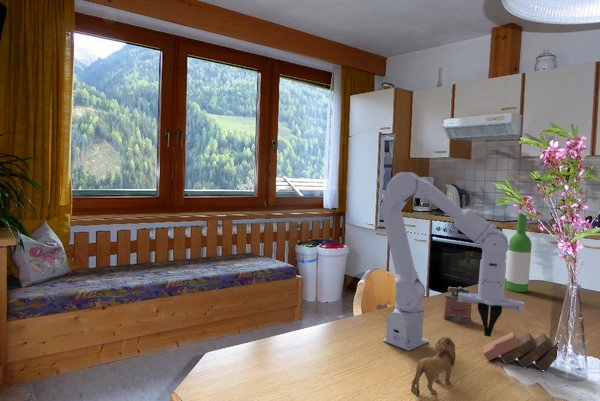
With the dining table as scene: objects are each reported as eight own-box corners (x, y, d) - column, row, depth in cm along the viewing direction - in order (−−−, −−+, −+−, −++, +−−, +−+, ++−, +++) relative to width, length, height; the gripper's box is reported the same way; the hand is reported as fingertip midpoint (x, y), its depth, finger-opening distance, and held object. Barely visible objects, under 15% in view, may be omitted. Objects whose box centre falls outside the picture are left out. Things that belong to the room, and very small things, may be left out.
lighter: (469, 318, 134) (471, 286, 134) (472, 322, 131) (474, 289, 130) (442, 316, 135) (444, 285, 134) (444, 320, 132) (447, 287, 131)
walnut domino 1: (500, 357, 103) (530, 339, 101) (500, 349, 108) (528, 332, 105) (506, 364, 103) (536, 347, 100) (505, 356, 107) (534, 339, 105)
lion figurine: (435, 370, 98) (437, 331, 98) (458, 378, 95) (461, 338, 94) (405, 394, 87) (407, 350, 86) (430, 404, 84) (433, 359, 83)
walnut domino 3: (535, 366, 100) (559, 340, 98) (534, 357, 105) (556, 333, 103) (544, 372, 100) (567, 346, 98) (541, 363, 104) (564, 338, 102)
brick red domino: (483, 353, 105) (513, 338, 102) (483, 346, 109) (513, 331, 106) (488, 360, 104) (519, 346, 102) (488, 353, 109) (518, 338, 106)
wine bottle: (513, 286, 175) (519, 212, 173) (532, 291, 169) (538, 214, 166) (501, 288, 172) (507, 212, 169) (519, 293, 165) (526, 214, 163)
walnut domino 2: (517, 361, 102) (545, 340, 99) (516, 353, 106) (543, 333, 104) (524, 368, 101) (552, 347, 99) (523, 359, 106) (550, 339, 103)
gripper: (458, 279, 105) (454, 334, 106) (526, 288, 99) (521, 346, 100) (460, 273, 111) (456, 325, 112) (524, 281, 105) (520, 336, 106)
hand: (487, 334), depth 107 cm, fingers closed
